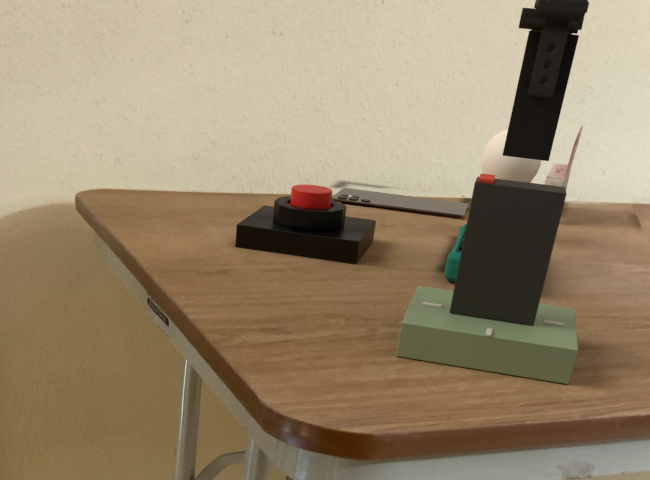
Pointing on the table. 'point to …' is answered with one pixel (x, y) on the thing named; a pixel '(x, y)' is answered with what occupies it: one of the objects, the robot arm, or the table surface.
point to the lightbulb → (507, 162)
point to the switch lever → (507, 249)
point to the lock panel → (489, 339)
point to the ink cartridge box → (562, 169)
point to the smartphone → (401, 202)
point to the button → (311, 196)
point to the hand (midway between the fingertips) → (527, 144)
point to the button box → (306, 232)
